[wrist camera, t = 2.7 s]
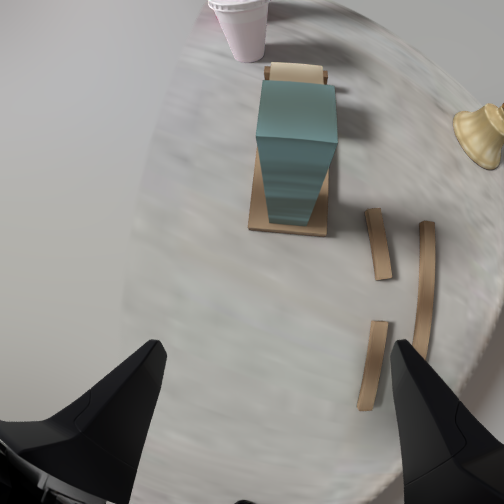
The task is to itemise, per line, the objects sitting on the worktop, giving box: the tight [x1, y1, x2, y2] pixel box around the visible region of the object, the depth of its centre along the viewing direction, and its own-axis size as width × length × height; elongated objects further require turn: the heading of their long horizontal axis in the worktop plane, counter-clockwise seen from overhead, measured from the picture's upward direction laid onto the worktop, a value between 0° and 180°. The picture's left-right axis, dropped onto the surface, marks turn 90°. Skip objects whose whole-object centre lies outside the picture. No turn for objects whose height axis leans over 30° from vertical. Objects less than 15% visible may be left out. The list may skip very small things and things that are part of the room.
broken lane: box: [357, 208, 435, 411], centre depth 21 cm, size 18×7×1 cm, turn 174°
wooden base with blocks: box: [248, 66, 338, 237], centre depth 17 cm, size 17×6×14 cm, turn 174°
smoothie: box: [208, 0, 270, 63], centre depth 20 cm, size 6×6×14 cm
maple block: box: [269, 62, 324, 85], centre depth 21 cm, size 4×4×4 cm
